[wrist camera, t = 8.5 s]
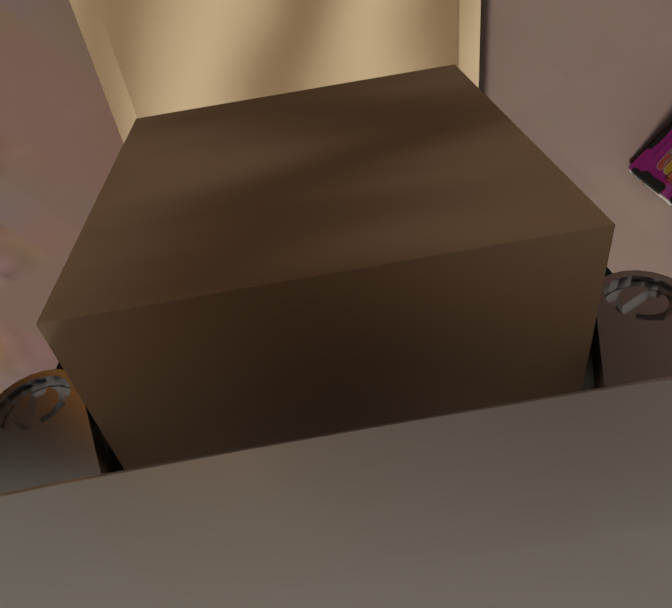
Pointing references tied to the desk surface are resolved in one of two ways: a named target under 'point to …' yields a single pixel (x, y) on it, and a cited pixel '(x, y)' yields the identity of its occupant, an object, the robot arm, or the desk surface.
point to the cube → (325, 269)
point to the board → (264, 47)
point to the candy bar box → (657, 166)
